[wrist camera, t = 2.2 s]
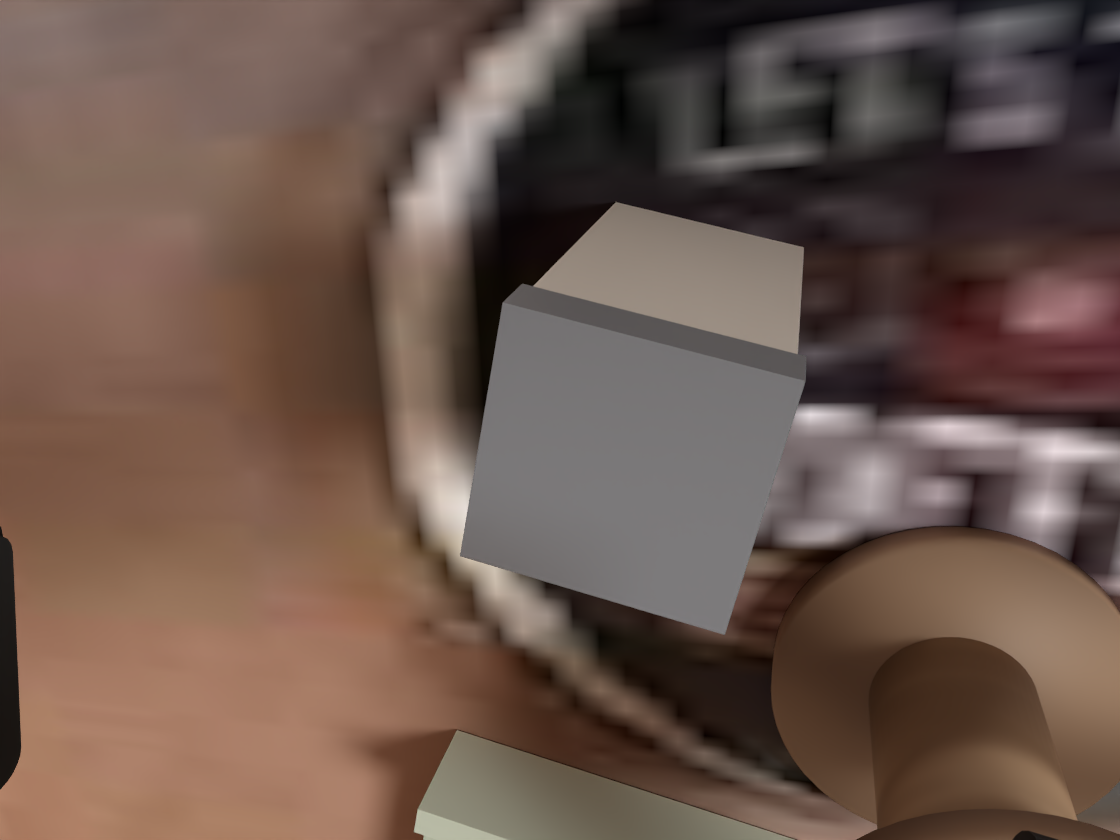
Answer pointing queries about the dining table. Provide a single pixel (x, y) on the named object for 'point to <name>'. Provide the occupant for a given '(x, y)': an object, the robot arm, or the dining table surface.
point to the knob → (953, 687)
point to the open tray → (553, 803)
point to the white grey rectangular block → (641, 414)
